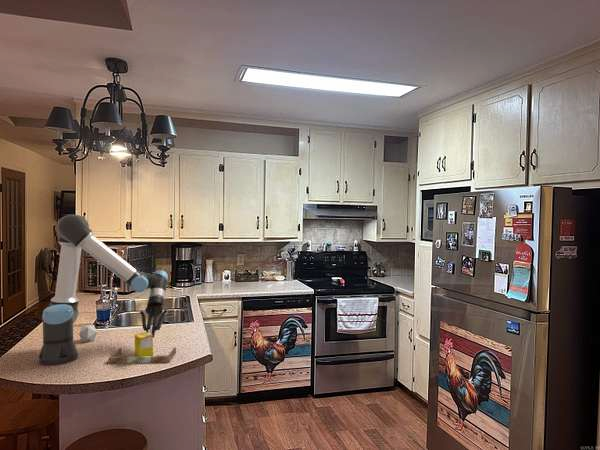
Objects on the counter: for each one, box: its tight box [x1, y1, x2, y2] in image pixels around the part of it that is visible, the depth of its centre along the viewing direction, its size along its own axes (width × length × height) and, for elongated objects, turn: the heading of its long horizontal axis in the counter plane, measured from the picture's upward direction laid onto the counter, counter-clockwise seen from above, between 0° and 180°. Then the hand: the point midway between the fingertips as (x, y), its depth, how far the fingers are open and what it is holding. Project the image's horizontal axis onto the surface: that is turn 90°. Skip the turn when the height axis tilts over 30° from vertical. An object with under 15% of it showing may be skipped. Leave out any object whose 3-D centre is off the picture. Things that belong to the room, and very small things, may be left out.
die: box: [78, 324, 98, 343], centre depth 209 cm, size 8×9×10 cm
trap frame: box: [107, 347, 177, 364], centre depth 185 cm, size 26×12×2 cm, turn 94°
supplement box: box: [134, 331, 154, 357], centre depth 183 cm, size 6×6×11 cm
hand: (148, 343), depth 188 cm, fingers closed
